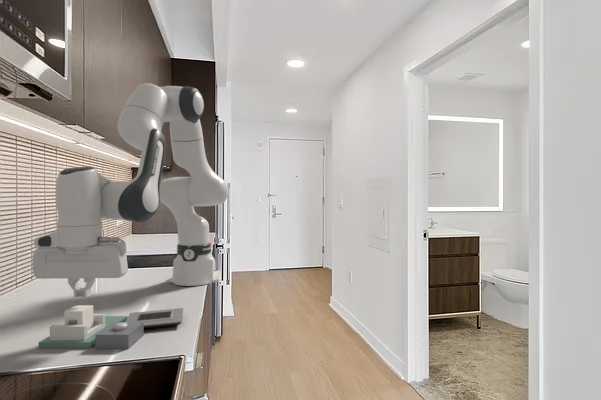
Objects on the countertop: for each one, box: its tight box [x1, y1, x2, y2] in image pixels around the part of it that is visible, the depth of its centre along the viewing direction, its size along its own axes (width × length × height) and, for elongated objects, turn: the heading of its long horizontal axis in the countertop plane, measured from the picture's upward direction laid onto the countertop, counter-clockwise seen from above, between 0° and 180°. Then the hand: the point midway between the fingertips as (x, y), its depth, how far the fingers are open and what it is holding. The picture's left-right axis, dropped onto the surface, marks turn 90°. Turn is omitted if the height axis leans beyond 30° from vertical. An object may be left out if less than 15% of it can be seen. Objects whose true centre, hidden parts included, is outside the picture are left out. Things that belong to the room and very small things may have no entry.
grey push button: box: [95, 322, 145, 350], centre depth 78 cm, size 7×7×4 cm
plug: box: [64, 304, 94, 331], centre depth 80 cm, size 5×4×5 cm
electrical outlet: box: [125, 307, 184, 329], centre depth 89 cm, size 13×10×2 cm
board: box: [37, 313, 128, 349], centre depth 83 cm, size 16×11×4 cm
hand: (82, 296), depth 81 cm, fingers closed
